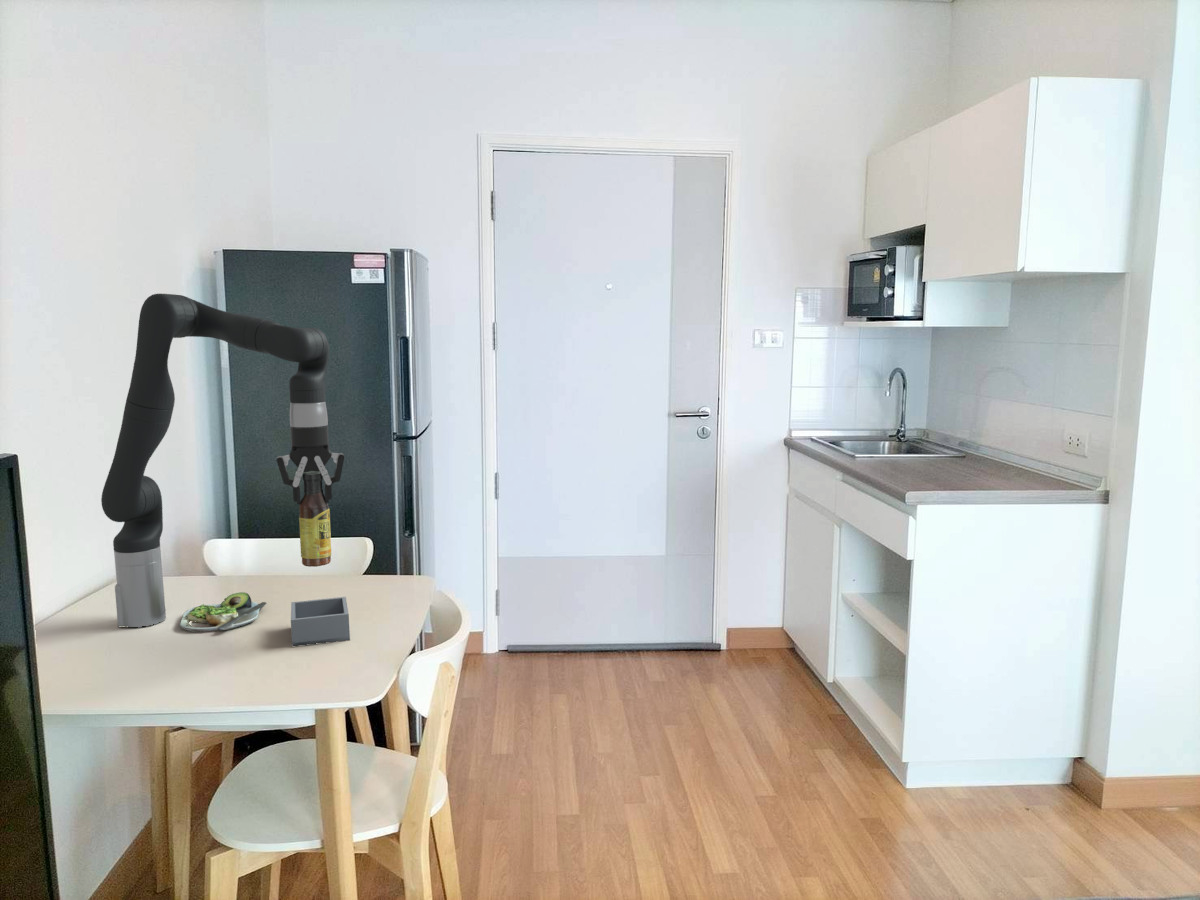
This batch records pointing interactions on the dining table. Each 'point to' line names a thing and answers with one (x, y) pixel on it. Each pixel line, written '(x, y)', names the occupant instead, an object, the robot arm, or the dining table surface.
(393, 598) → the dining table surface
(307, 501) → the sauce bottle
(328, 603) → the bottle caddy
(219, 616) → the salad plate
